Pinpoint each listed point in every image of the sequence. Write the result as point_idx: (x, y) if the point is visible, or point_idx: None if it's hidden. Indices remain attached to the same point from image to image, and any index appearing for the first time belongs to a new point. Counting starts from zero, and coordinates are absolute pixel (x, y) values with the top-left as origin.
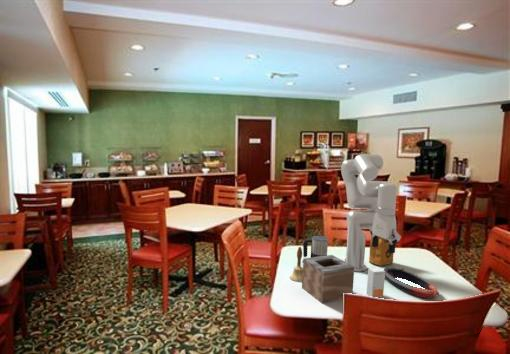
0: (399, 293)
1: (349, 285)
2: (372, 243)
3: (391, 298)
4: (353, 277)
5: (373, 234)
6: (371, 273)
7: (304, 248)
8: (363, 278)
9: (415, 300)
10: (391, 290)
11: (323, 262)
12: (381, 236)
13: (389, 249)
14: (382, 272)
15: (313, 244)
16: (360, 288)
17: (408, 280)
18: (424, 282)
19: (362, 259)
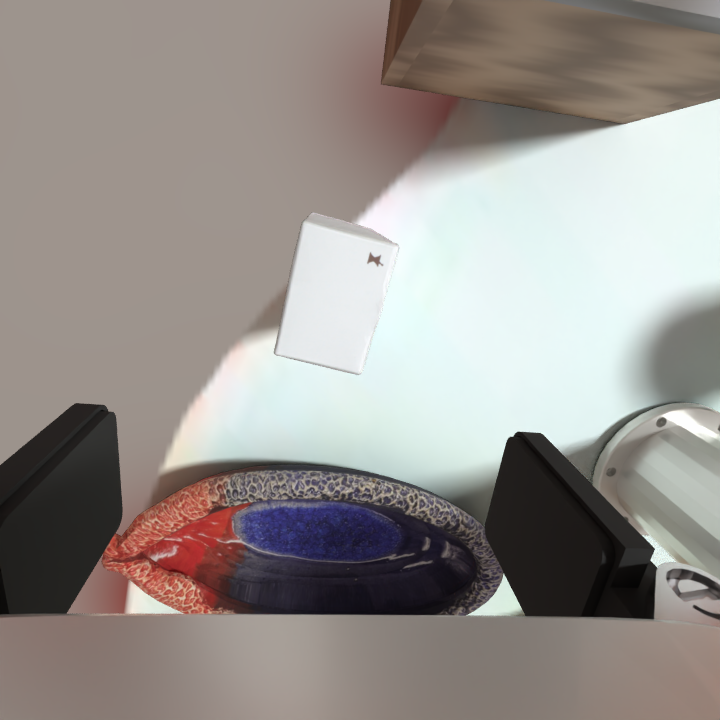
0: (282, 425)
1: (403, 2)
2: (559, 461)
3: (254, 328)
4: (410, 22)
5: (711, 627)
6: (341, 227)
7: None
8: (531, 396)
9: (179, 433)
10: (332, 415)
11: None
12: (178, 657)
13: (32, 440)
14: (281, 321)
15: None
16: (446, 260)
17: (365, 584)
18: (257, 609)
19: (659, 522)
